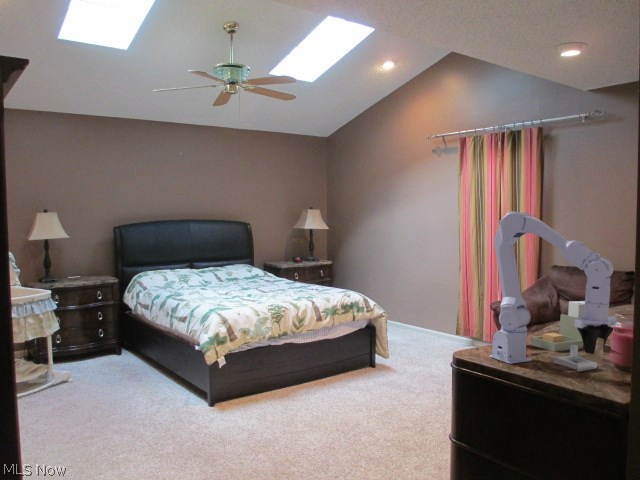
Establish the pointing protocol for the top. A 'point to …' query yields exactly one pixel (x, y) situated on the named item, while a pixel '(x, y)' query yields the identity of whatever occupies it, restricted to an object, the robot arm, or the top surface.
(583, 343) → the robot arm
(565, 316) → the case
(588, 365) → the bracket
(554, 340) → the block
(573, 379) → the top surface
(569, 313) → the skincare box
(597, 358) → the beige tall block
